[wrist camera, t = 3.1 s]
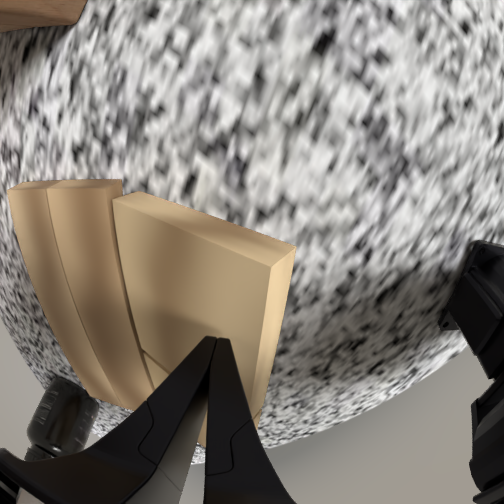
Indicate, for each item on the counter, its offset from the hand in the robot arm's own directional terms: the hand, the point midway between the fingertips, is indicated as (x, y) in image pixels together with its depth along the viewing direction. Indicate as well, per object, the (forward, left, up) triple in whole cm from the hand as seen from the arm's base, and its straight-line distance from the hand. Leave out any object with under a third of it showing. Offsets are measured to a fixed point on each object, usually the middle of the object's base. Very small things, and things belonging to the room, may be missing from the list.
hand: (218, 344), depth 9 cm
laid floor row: (+10, +6, -5) cm, 13 cm away
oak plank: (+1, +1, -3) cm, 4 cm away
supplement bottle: (+19, +21, -6) cm, 29 cm away
